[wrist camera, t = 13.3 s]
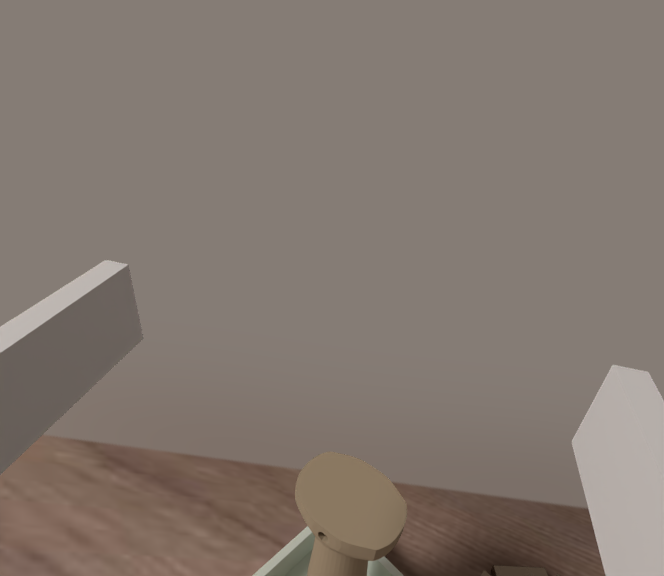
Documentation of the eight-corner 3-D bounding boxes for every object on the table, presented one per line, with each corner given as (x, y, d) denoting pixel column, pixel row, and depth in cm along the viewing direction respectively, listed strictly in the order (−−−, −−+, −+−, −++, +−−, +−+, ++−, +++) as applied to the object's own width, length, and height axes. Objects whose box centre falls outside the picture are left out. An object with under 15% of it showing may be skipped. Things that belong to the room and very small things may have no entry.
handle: (315, 562, 35) (330, 438, 28) (382, 619, 32) (421, 498, 25) (274, 616, 32) (279, 493, 24) (346, 686, 29) (377, 570, 21)
